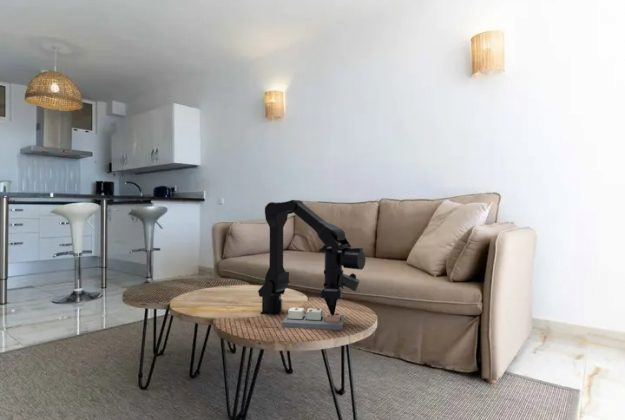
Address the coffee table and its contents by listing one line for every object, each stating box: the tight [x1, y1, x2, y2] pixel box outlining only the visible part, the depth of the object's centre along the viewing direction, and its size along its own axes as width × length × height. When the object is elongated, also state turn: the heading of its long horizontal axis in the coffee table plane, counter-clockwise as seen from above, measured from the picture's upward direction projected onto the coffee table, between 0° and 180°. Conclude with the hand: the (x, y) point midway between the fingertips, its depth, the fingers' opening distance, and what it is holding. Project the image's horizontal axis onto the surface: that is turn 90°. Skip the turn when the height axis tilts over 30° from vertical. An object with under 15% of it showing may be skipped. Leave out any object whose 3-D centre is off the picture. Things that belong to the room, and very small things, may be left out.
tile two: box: [306, 307, 323, 320], centre depth 130 cm, size 4×4×3 cm
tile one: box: [287, 306, 305, 319], centre depth 131 cm, size 4×4×3 cm
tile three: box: [325, 312, 341, 322], centre depth 129 cm, size 4×4×3 cm
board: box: [281, 312, 345, 331], centre depth 130 cm, size 19×12×2 cm, turn 82°
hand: (332, 314), depth 129 cm, fingers closed, pressing on tile three
